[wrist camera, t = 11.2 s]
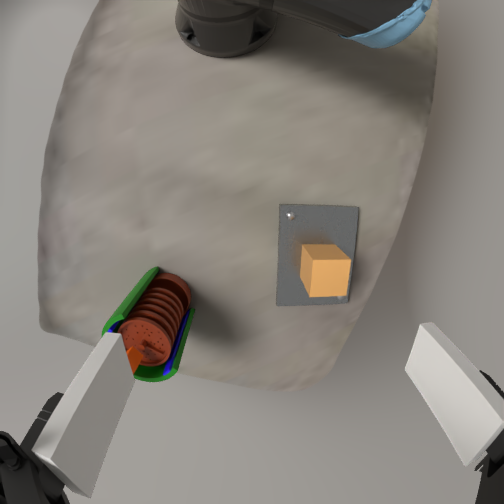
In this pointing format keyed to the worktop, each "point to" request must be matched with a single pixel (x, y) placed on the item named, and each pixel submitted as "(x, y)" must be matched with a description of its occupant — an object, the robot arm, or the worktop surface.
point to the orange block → (324, 270)
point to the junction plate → (311, 232)
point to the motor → (154, 325)
